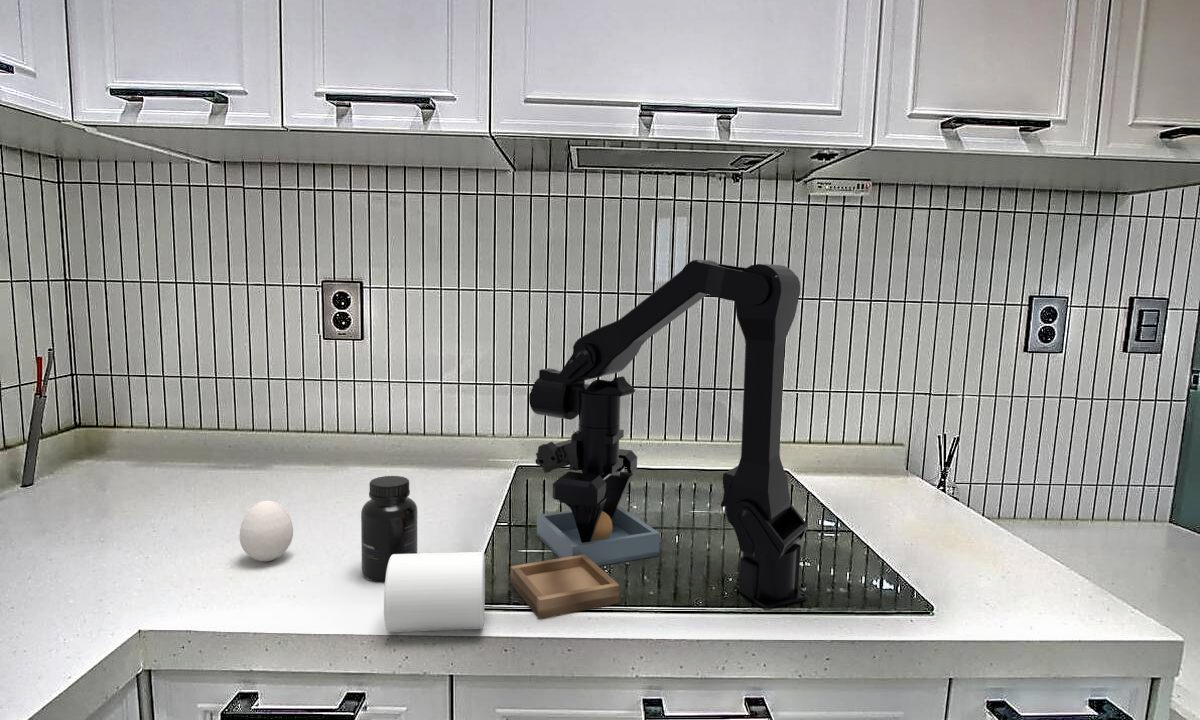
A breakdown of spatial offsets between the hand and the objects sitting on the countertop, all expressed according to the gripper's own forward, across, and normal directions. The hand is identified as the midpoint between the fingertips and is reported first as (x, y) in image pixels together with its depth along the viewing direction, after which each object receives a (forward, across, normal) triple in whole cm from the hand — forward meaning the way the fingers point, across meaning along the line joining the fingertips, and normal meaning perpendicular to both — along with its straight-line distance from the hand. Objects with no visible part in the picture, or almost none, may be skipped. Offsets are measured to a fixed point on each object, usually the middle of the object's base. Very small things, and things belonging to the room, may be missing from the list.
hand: (596, 532), depth 102 cm
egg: (+2, +21, -38) cm, 44 cm away
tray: (+2, +16, +1) cm, 16 cm away
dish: (+2, 0, 0) cm, 2 cm away
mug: (+2, +26, -9) cm, 28 cm away
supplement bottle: (+2, +18, -21) cm, 28 cm away
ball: (-1, 0, 0) cm, 1 cm away
